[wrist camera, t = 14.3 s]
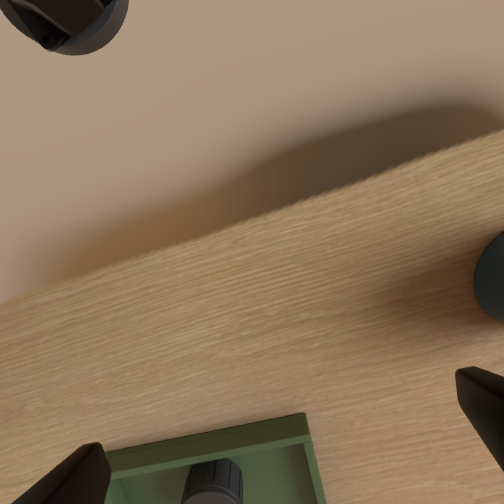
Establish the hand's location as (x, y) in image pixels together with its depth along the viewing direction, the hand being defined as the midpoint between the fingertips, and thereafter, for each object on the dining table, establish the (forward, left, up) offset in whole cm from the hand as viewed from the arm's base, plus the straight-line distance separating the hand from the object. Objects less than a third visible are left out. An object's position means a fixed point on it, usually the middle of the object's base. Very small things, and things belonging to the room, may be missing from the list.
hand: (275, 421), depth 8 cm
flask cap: (+11, -12, -10) cm, 19 cm away
